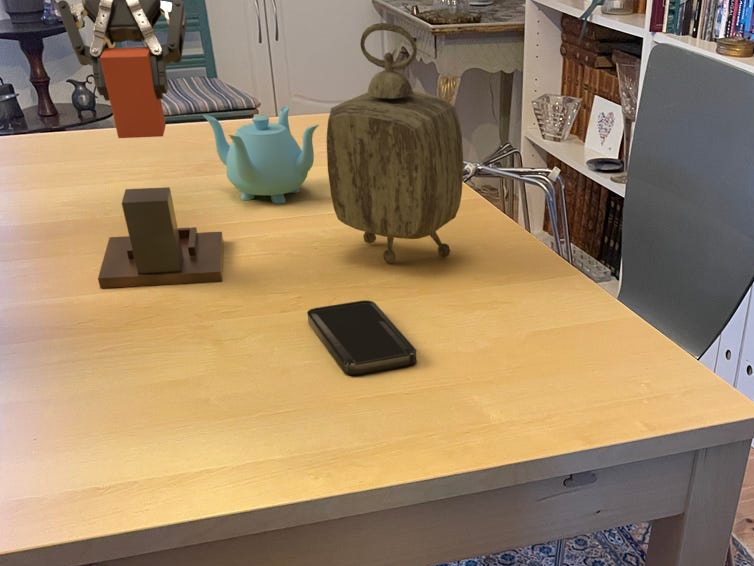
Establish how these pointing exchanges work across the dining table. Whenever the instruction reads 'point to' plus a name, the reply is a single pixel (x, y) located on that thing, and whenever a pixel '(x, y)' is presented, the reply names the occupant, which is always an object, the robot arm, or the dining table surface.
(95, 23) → the robot arm
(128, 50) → the terracotta block
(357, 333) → the phone
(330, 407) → the dining table surface
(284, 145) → the teapot
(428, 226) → the tabletop clock
